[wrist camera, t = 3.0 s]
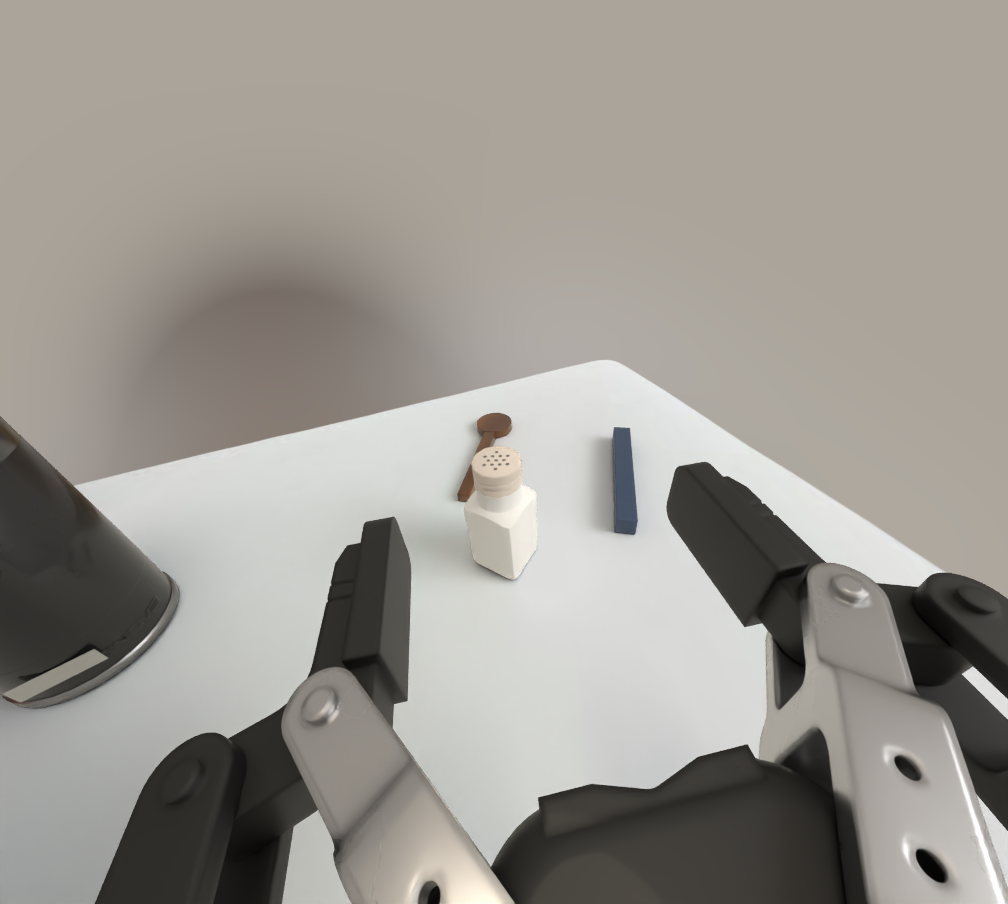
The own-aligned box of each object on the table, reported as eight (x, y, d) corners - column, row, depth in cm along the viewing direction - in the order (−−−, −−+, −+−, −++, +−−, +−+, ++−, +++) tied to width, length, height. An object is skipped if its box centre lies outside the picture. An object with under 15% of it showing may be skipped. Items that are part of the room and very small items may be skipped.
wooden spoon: (444, 499, 35) (442, 492, 34) (482, 418, 46) (481, 412, 45) (485, 503, 34) (484, 496, 34) (514, 420, 45) (514, 413, 44)
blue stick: (614, 532, 30) (616, 519, 29) (612, 439, 40) (613, 426, 39) (635, 535, 30) (637, 521, 29) (628, 440, 40) (629, 427, 39)
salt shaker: (541, 546, 30) (539, 451, 24) (515, 585, 27) (506, 489, 21) (498, 528, 32) (487, 435, 26) (470, 563, 29) (451, 469, 23)
